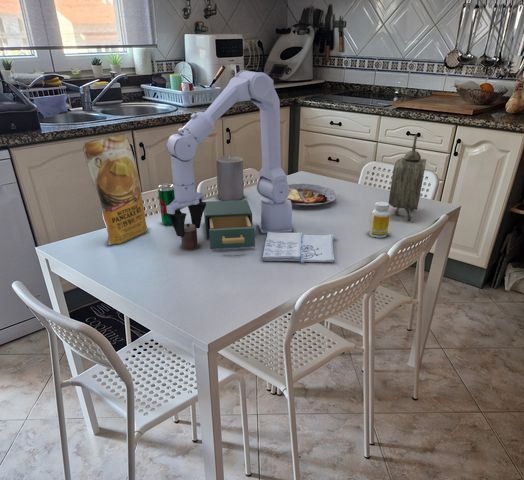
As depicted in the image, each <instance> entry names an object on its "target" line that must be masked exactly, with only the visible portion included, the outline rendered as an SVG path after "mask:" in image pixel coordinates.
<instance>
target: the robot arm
mask: <svg viewBox="0 0 524 480" xmlns="http://www.w3.org/2000/svg"><path fill="white" fill-rule="evenodd" d="M274 86H275V85H274V79H273V78H272V77H270V76H269V75H268V74H267V73H265V72H262V71H261V72H260V71H259V72H257V71H250V70H248V69H241V70H240V71H238V72H237V73H236V75H235V76H233V77H232V78H230V80H229V82H228V84H227V85H226V86H225V88H224V89H223V90H222V91H221V93H220V94H218V96H217V97H216V98H215V99H214V100H213V102H212V103H211V104H210V105H209V106H208V107H207V109H205V111H197V112H196V113H194V112H193V113H192V114H191V115H190V119H189V121H187V123H186V124H185V125H183V127H180V128H178V130H177V132H178V133H173V134H171V135H170V136H169V137H168V140H167V143H166V145H165V149H166V152H167V154H168V155H169V156H170V162H171V174H172V183H173V184H172V185H173V187H174V194H175V200H174V201H173V202H172V203H171V204H169V205H168V206H166V208H167V211H166V215H167V216H168V218H169V219H170V221H171V222H172V224H173V225H172V226H173V229H174V232H175V234H176V237H180V238H181V237H184V234H185V230H184V224H186V217H187V213H186V212H182V210H183V209H185V208H187V209H188V211H189V215H190V220H191V221H190V222H191V224H194V225H195V228H196V229H198V230H199V229H200V228H201V226H202V225H201V223H202V218H203V215H204V209H205V207H206V202H207V201H205V194H204V192H196V181H195V168H194V166H195V165H194V157H195V156H196V154H197V148H198V147H199V146H200V145H201V144H202V143H203V142H204V140H206V139H207V137H208V136H209V135H211V133H213V131H214V130H215V123H216V122H217V121H218V120H219V119H220V118H221V117H222V116H223V115H224V114H225V113H226V112H227V111H228V110H229V109H230V108H231V107H233V106H234V105H235V104H236V103H238V102H246V101H247V102H248V101H250V102H251V103H253V104H254V105H255V106H256V107H257V108H259V118H260V119H259V120H260V144H261V145H260V146H261V164H262V167H261V168H260V170H259V171H258V179H257V182H256V191H257V193H258V194H259V195H260V197H259V198H260V222H259V223H257V225H258V228H259V230H260V233H261V234H267V232H272V233H273V232H277V233H293V232H292V231H293V230H292V227H293V226H292V225H293V223H292V222H293V205H292V204H291V200H286V199H287V197H288V195H289V191H290V189H289V185H290V184H289V183H288V178H287V174H286V173H285V171H284V169H283V168H282V150H281V149H282V148H281V147H282V146H281V144H282V143H281V107H280V106H281V101H280V98H279V96H278V95H279V94H278V93H277V90H276V89H275V87H274Z"/></svg>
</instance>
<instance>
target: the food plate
mask: <svg viewBox="0 0 524 480" xmlns="http://www.w3.org/2000/svg"><path fill="white" fill-rule="evenodd" d="M288 185H289V189H290V191H289V195H288V197H287V199H286V200H291V204H292V206H302V207H303V206H304V207H315V206H321V205H329V204H332V203H334V202H336V201H337V199H338V197H337V194H336V192H335V190H334V189H333V188H329V187H325V186H322V185H319V184H311V183H290V184H288Z"/></svg>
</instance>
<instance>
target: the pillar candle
mask: <svg viewBox="0 0 524 480" xmlns="http://www.w3.org/2000/svg"><path fill="white" fill-rule="evenodd" d="M215 164H216V165H215V167H216V188H217V189H216V190H217V199H219V201H230V200H243V199H244V198H245V197H244V196H245V195H244V194H245V193H244V158H242V157H241V156H237V155H230V154H228V155H222V156H218V157H216V158H215Z"/></svg>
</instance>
